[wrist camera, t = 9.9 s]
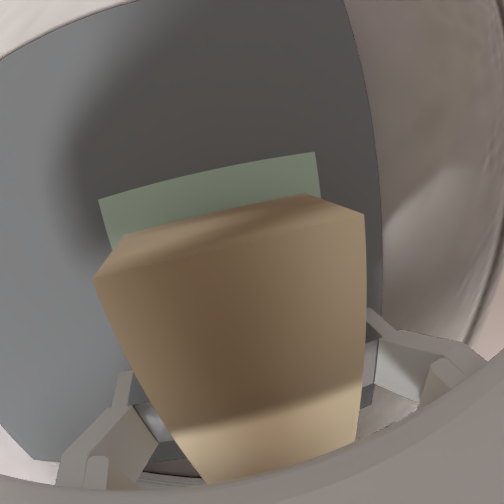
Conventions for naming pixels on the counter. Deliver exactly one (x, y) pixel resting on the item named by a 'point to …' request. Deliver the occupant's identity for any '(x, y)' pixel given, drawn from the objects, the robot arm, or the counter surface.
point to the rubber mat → (157, 171)
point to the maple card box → (246, 330)
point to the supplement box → (165, 481)
